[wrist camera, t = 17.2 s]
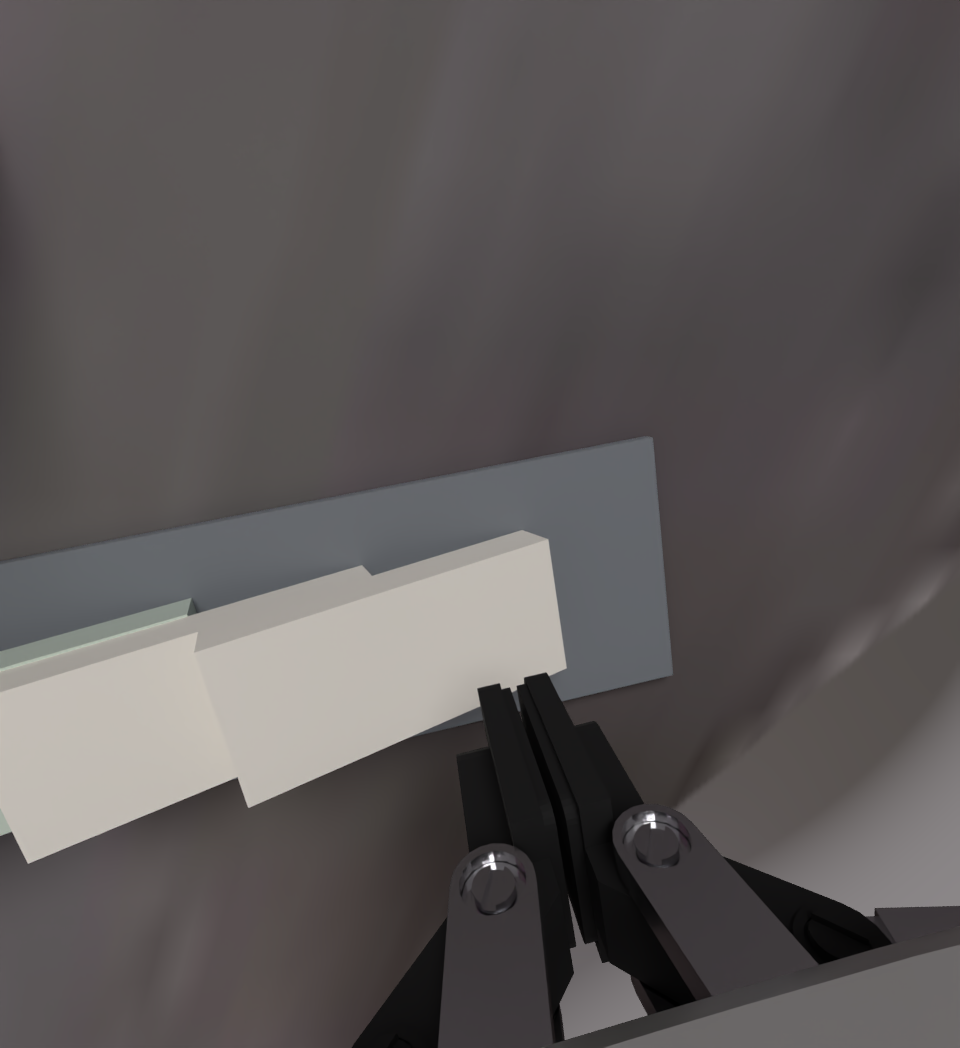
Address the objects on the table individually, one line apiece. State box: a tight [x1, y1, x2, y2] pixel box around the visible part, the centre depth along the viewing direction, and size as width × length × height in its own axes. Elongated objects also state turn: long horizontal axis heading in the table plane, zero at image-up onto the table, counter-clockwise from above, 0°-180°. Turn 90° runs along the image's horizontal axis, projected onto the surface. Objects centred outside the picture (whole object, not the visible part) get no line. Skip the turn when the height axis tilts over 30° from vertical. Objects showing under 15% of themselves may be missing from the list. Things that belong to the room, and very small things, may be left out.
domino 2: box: [0, 565, 372, 864], centre depth 16 cm, size 2×5×11 cm
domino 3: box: [194, 530, 567, 808], centre depth 17 cm, size 2×5×11 cm
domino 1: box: [0, 598, 197, 836], centre depth 16 cm, size 2×5×11 cm
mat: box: [0, 436, 673, 833], centre depth 19 cm, size 32×10×1 cm, turn 100°
